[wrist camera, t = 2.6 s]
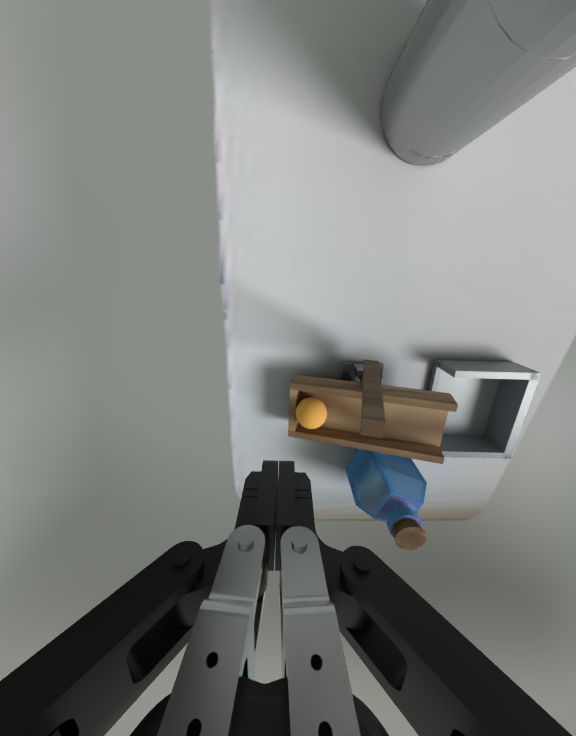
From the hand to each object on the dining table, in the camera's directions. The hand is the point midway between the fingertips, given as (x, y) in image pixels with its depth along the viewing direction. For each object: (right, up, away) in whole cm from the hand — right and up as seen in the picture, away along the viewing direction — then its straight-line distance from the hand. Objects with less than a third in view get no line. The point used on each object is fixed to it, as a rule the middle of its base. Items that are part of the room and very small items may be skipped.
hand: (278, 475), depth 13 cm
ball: (+3, 0, +18) cm, 19 cm away
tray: (+23, +1, +22) cm, 32 cm away
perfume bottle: (+13, -8, +26) cm, 30 cm away
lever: (+10, +2, +19) cm, 21 cm away
